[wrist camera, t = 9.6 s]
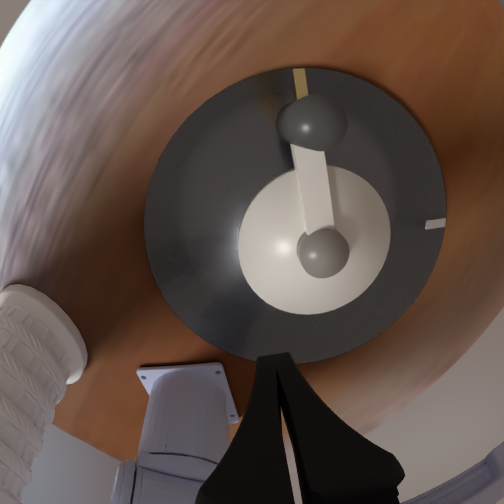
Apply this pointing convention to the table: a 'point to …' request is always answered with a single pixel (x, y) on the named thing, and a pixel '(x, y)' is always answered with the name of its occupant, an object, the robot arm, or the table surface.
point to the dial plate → (253, 179)
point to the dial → (313, 220)
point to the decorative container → (31, 378)
